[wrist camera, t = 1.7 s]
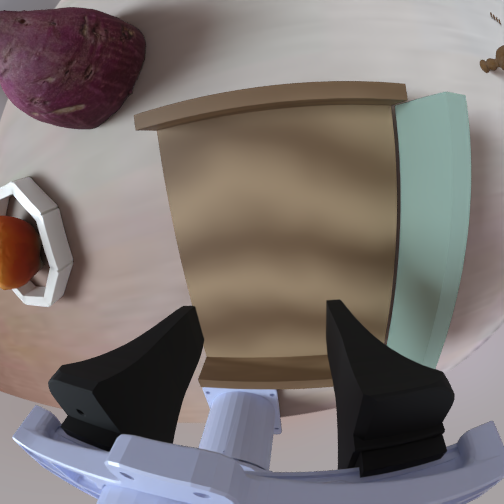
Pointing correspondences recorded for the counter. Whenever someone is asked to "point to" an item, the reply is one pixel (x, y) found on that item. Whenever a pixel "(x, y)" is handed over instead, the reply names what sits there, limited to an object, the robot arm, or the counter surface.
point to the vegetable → (68, 64)
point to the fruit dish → (51, 238)
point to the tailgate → (430, 222)
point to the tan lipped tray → (281, 221)
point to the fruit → (18, 252)
